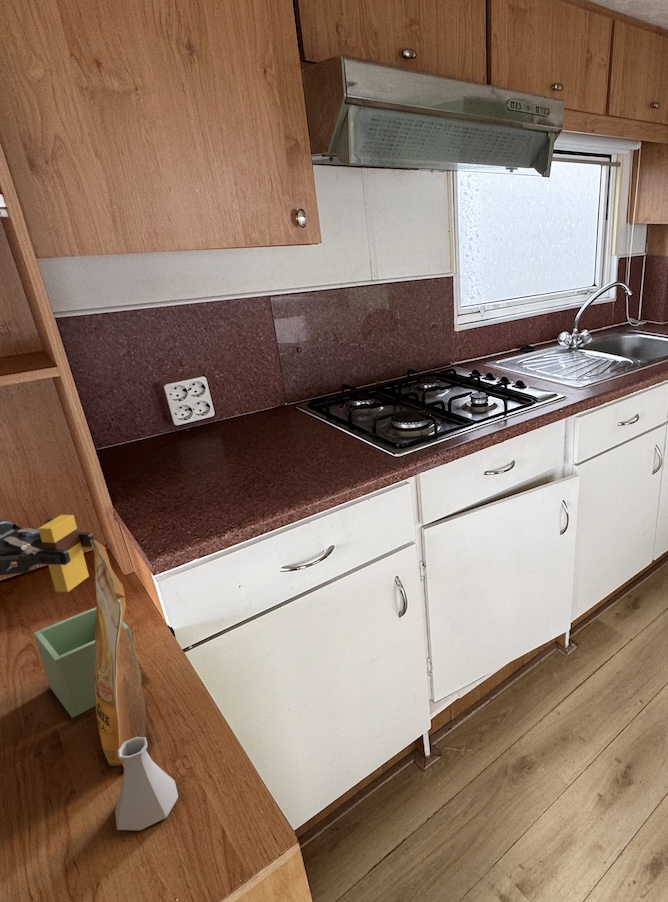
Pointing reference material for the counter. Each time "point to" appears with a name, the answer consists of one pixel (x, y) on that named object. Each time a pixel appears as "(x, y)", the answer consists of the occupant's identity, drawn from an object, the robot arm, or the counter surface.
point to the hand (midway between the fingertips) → (79, 548)
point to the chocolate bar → (65, 537)
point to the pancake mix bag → (114, 665)
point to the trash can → (72, 660)
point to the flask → (142, 788)
